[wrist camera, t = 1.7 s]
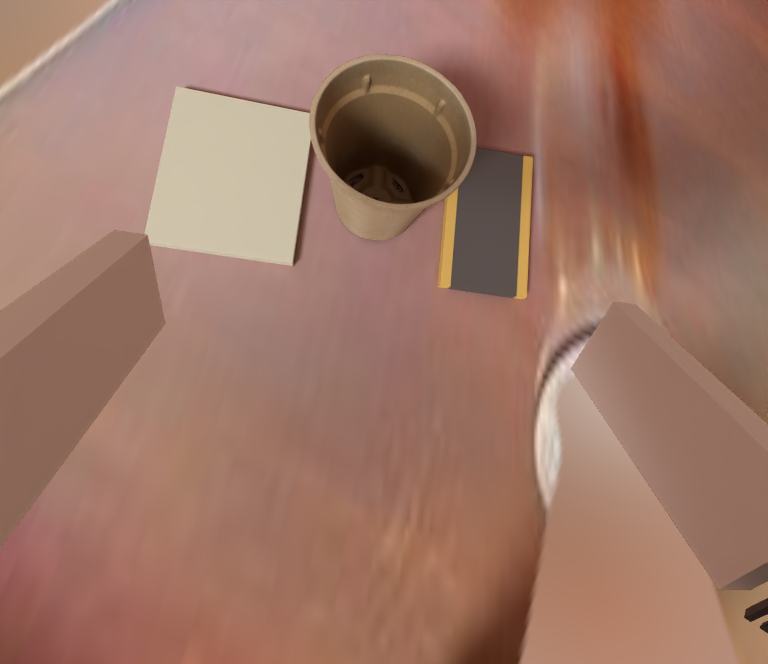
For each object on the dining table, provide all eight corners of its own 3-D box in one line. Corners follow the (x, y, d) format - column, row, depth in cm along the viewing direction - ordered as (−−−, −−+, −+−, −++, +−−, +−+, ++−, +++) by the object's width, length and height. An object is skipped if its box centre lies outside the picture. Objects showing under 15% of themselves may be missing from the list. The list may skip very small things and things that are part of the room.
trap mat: (528, 162, 32) (532, 157, 31) (522, 299, 30) (526, 297, 29) (449, 146, 31) (452, 141, 30) (437, 287, 29) (440, 284, 28)
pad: (314, 119, 29) (314, 114, 29) (292, 265, 27) (292, 263, 27) (179, 92, 28) (176, 86, 27) (147, 244, 26) (143, 241, 25)
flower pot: (348, 126, 30) (357, 22, 21) (452, 183, 30) (501, 105, 22) (291, 224, 28) (276, 154, 19) (403, 282, 28) (436, 239, 20)
